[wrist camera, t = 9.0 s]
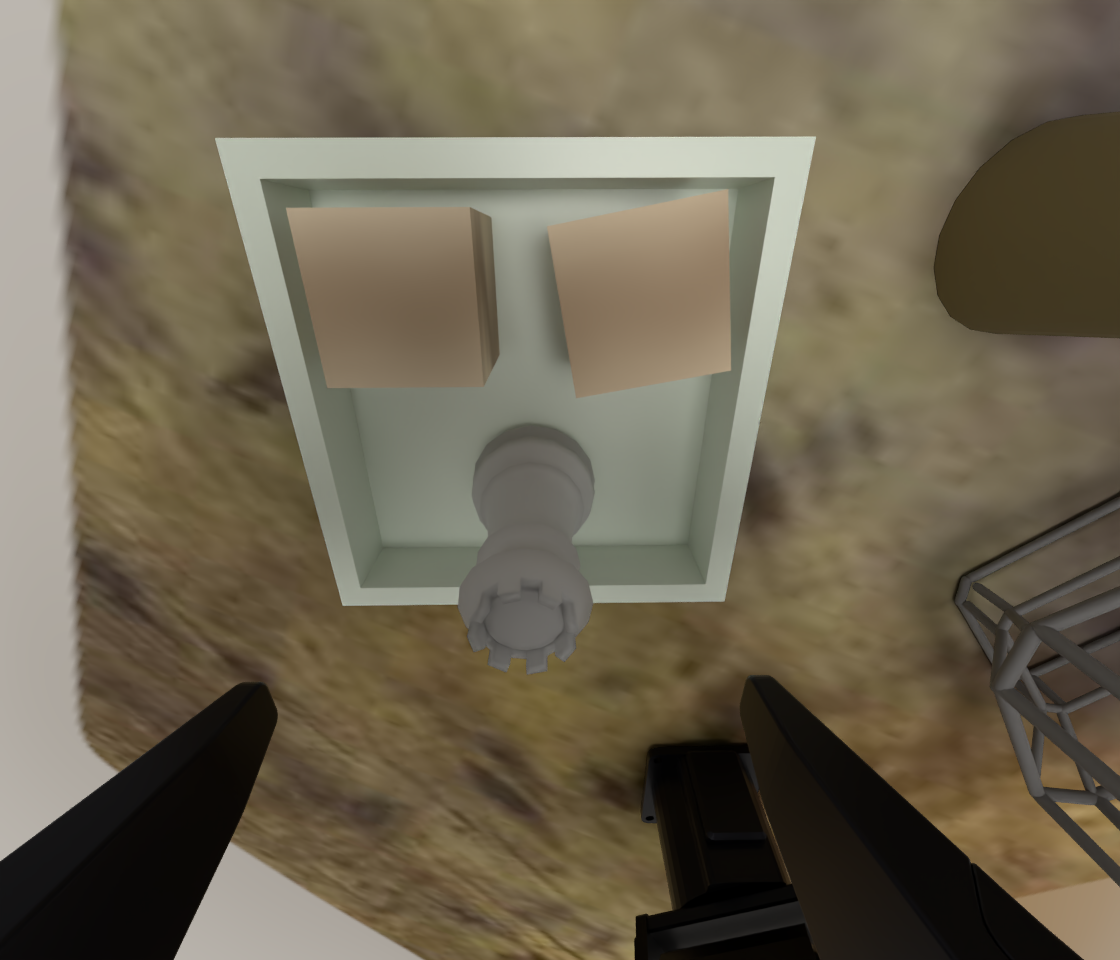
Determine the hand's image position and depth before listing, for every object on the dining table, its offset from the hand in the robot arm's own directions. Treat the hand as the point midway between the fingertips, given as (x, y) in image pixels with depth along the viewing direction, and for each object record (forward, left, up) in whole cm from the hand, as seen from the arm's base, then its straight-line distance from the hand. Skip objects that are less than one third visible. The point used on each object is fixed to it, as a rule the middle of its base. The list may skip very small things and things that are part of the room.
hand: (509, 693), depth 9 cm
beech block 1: (+6, +3, -10) cm, 12 cm away
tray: (+3, 0, -10) cm, 11 cm away
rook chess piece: (0, 0, -10) cm, 10 cm away
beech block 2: (+6, -3, -10) cm, 12 cm away
